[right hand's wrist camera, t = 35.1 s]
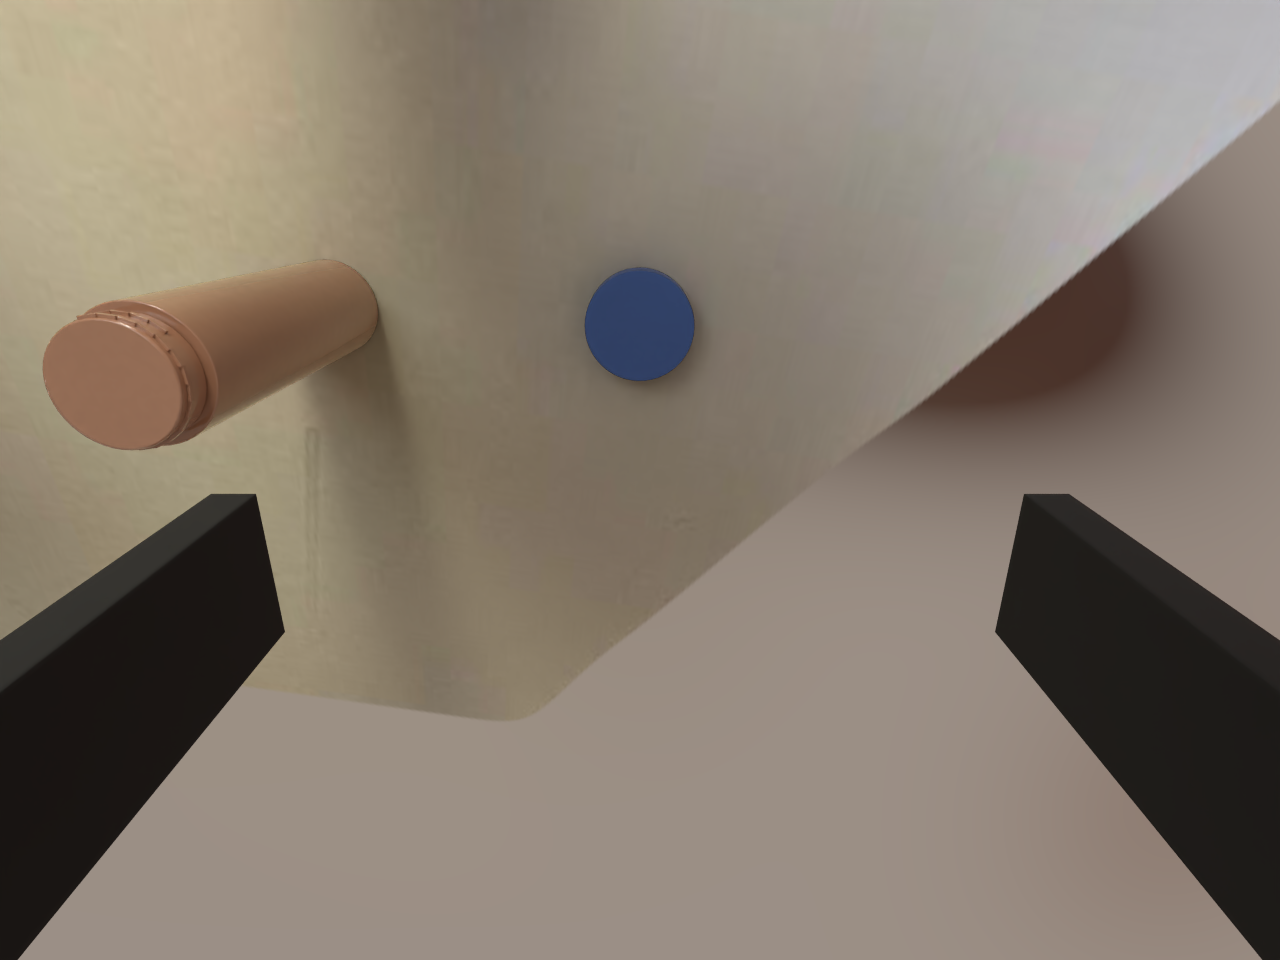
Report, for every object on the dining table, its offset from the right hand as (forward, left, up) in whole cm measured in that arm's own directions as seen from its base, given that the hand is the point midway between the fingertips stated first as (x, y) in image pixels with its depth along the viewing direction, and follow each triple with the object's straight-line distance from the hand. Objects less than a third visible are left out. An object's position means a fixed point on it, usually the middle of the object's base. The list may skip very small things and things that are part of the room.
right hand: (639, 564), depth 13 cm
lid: (0, 0, -27) cm, 27 cm away
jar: (-13, -11, -28) cm, 33 cm away
